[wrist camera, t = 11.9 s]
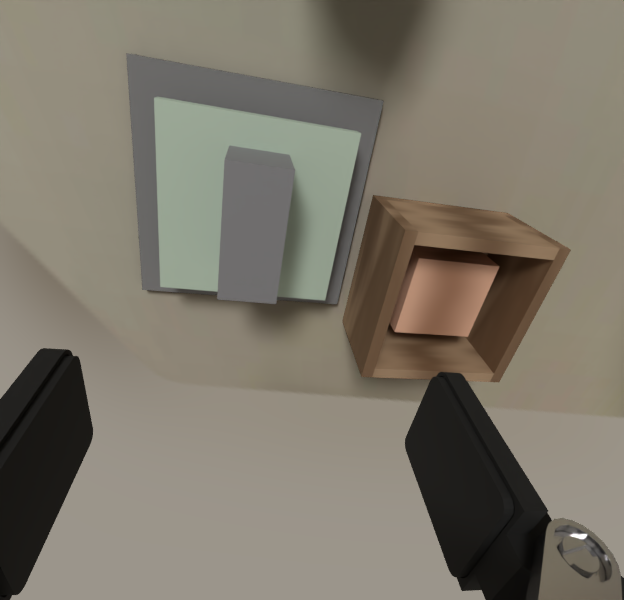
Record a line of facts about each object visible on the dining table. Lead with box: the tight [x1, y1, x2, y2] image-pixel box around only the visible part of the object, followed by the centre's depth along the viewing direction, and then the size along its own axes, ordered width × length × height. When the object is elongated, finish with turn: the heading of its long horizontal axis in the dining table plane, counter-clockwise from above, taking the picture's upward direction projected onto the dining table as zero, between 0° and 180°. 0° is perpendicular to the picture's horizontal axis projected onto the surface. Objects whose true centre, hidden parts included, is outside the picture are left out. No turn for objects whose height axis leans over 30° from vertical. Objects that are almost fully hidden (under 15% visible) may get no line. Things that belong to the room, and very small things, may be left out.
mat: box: [126, 53, 384, 304], centre depth 26 cm, size 15×15×1 cm
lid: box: [154, 97, 361, 304], centre depth 24 cm, size 12×12×6 cm
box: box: [343, 195, 571, 382], centre depth 28 cm, size 11×11×7 cm
